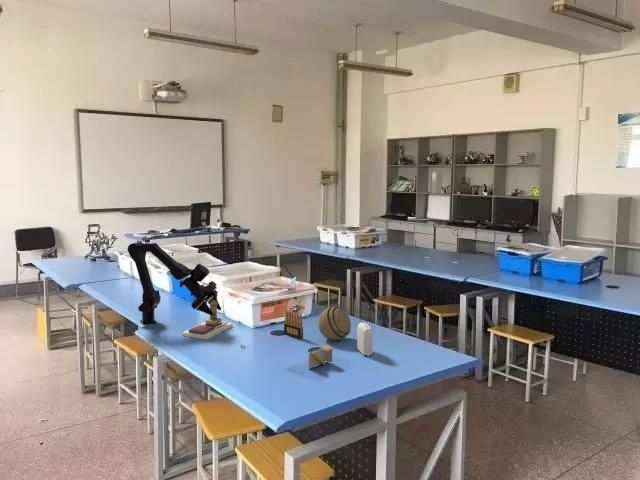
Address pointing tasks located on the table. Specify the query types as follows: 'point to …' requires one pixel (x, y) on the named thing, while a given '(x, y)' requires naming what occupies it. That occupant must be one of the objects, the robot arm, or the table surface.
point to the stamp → (213, 316)
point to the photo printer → (364, 338)
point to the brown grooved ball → (334, 323)
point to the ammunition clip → (293, 324)
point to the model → (320, 356)
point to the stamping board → (210, 334)
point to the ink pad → (201, 329)
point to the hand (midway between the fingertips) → (216, 312)
